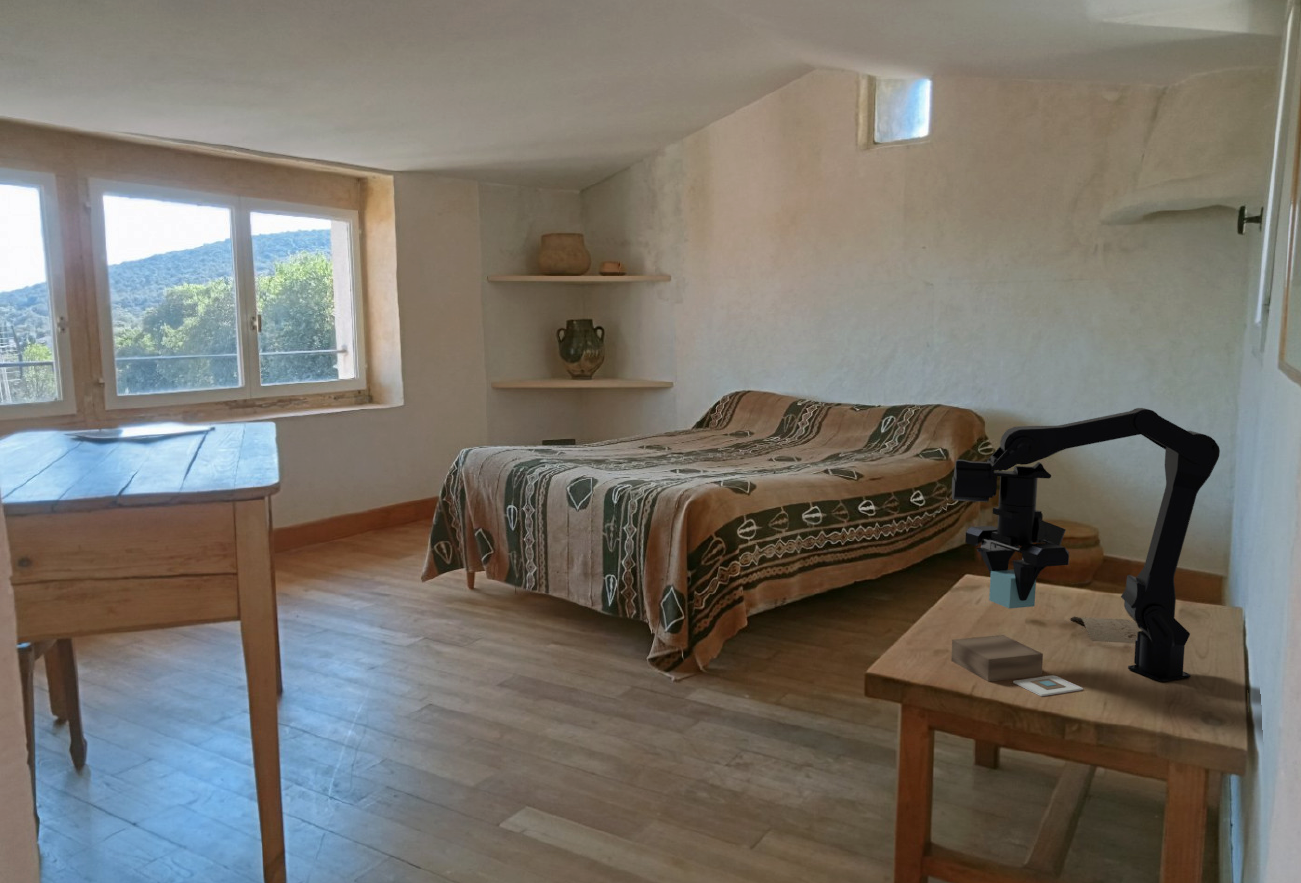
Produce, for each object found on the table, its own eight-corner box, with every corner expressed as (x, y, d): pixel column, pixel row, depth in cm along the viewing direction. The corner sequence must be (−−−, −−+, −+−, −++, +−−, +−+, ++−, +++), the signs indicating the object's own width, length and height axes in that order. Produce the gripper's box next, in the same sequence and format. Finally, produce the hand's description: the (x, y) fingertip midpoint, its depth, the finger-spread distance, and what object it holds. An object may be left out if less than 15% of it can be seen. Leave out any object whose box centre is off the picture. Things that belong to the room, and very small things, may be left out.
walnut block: (1041, 677, 147) (1042, 653, 147) (987, 683, 145) (988, 659, 144) (1002, 657, 157) (1003, 634, 156) (951, 662, 154) (952, 639, 154)
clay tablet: (1067, 622, 178) (1068, 608, 178) (1122, 624, 176) (1123, 610, 176) (1092, 646, 164) (1093, 631, 163) (1152, 648, 162) (1153, 634, 162)
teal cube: (1034, 606, 151) (1036, 576, 150) (1009, 608, 149) (1010, 578, 149) (1013, 598, 156) (1015, 569, 155) (989, 600, 154) (990, 571, 153)
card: (1082, 689, 141) (1083, 686, 141) (1041, 696, 138) (1041, 693, 138) (1053, 676, 147) (1054, 673, 147) (1013, 682, 144) (1013, 679, 144)
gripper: (1100, 511, 144) (1093, 608, 146) (1019, 492, 162) (1014, 579, 164) (1042, 514, 141) (1036, 613, 142) (965, 495, 159) (961, 583, 160)
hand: (1011, 596), depth 152 cm, fingers closed on teal cube, 5 cm apart
